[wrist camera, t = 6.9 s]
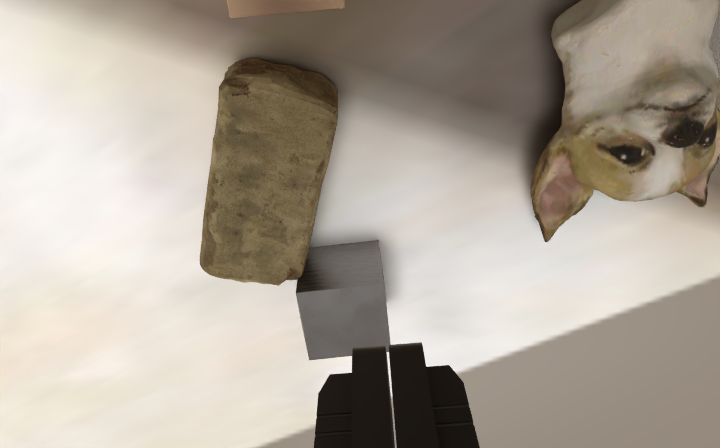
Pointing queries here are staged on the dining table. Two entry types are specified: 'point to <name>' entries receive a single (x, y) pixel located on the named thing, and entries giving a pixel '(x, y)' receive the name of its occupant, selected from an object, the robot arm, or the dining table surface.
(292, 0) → the cardboard box
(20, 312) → the dining table surface
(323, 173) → the stone block
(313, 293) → the charcoal block
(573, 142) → the ceramic sculpture
